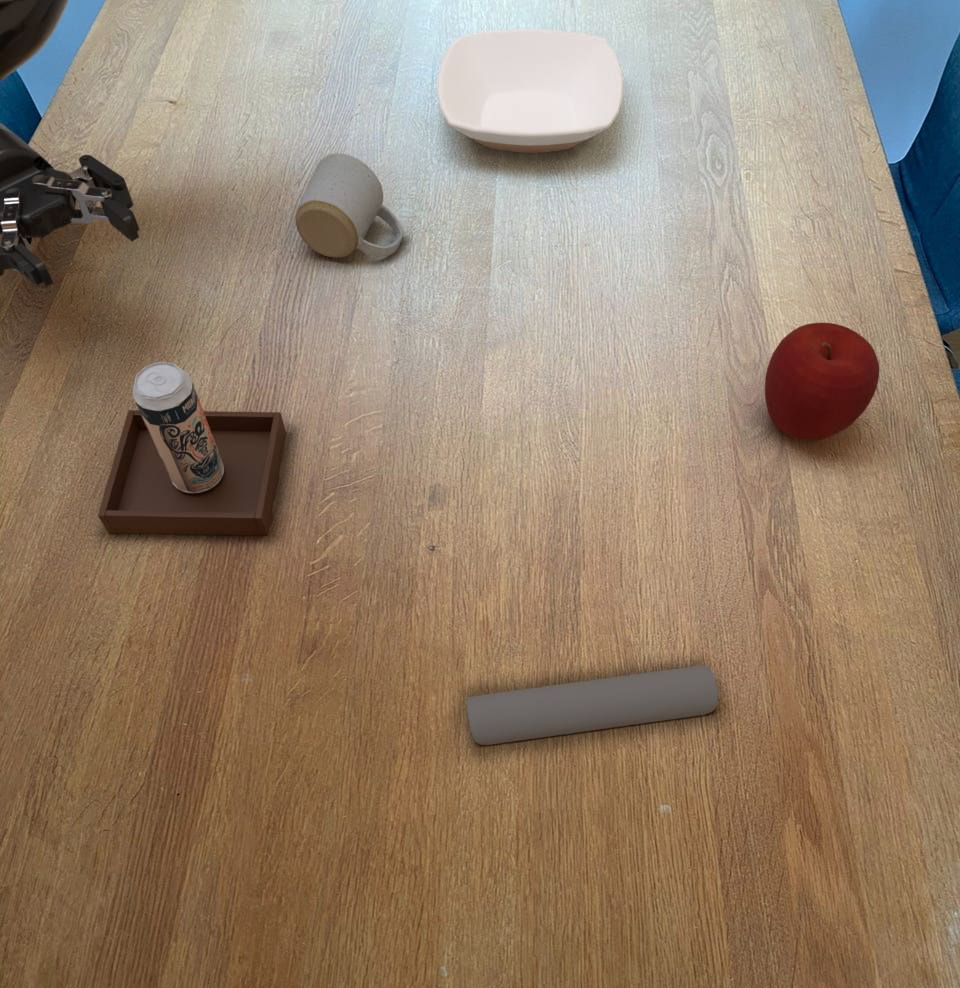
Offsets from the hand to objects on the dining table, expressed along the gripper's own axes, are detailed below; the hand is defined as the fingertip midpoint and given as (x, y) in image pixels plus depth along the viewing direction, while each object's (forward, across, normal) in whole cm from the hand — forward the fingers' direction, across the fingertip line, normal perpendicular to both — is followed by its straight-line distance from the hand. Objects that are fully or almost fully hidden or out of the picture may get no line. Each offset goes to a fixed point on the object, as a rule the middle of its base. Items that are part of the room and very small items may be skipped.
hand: (90, 253), depth 80 cm
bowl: (-3, -58, -15) cm, 60 cm away
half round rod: (+55, -5, -15) cm, 57 cm away
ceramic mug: (-2, -29, -15) cm, 32 cm away
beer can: (+14, +3, -14) cm, 21 cm away
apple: (+49, -41, -15) cm, 66 cm away
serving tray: (+14, +3, -15) cm, 21 cm away
